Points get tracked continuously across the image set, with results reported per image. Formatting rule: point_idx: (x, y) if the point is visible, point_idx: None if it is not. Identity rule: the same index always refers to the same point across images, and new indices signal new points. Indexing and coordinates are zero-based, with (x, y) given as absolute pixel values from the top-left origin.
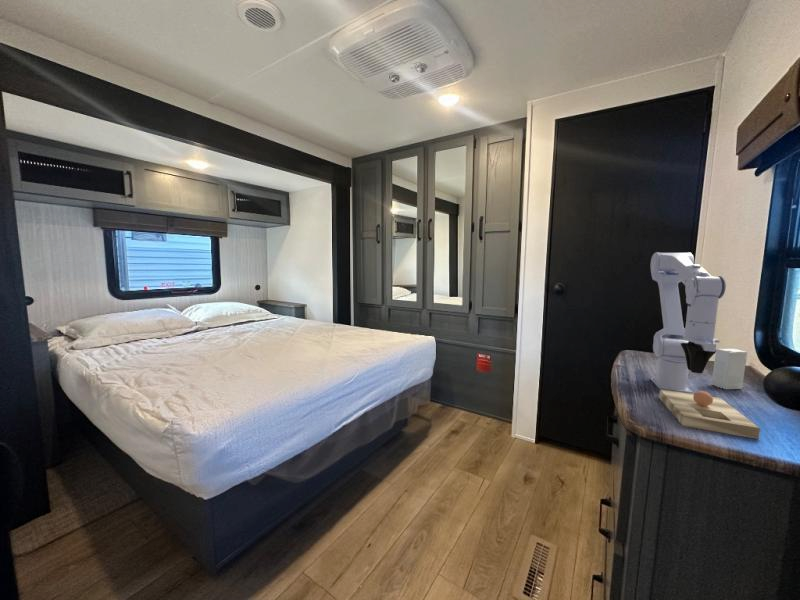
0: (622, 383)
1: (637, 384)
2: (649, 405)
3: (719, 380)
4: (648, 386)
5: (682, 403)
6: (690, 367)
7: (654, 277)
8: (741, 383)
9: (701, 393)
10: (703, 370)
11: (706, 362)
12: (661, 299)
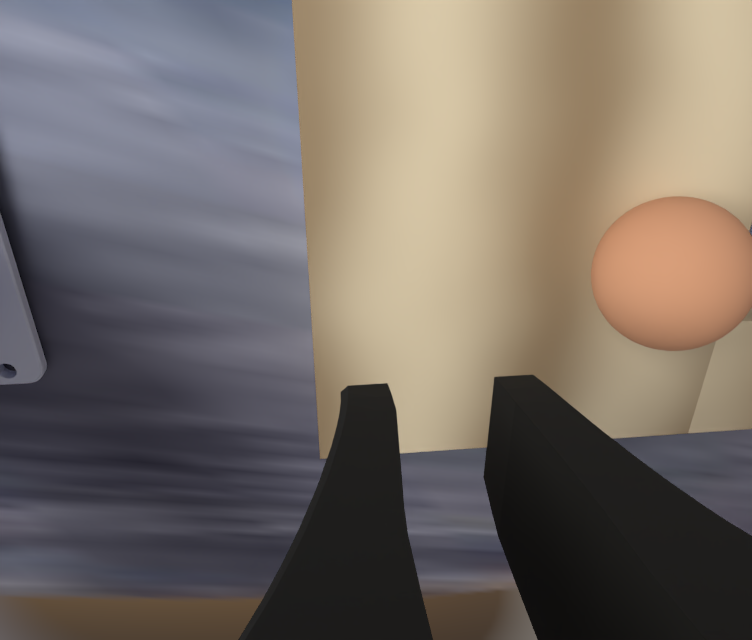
0: (94, 574)
1: (31, 495)
2: None
3: None
4: (24, 431)
5: (641, 376)
6: (508, 543)
7: None
8: None
9: (728, 328)
10: (558, 395)
11: (698, 512)
12: None
